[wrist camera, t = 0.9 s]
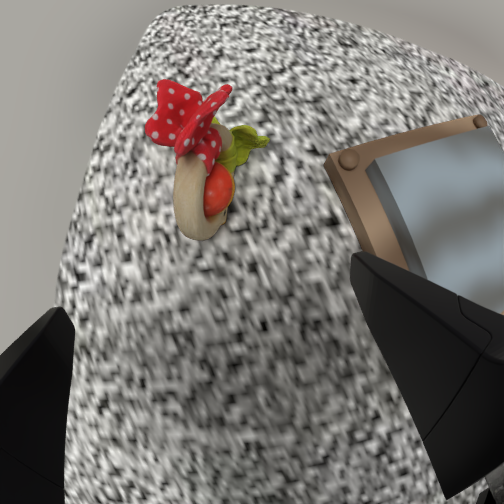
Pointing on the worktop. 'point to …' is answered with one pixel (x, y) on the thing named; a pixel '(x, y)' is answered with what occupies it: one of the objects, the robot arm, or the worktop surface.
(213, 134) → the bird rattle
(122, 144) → the worktop surface
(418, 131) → the wooden toy tray
